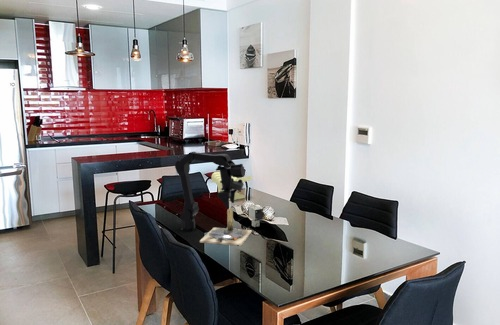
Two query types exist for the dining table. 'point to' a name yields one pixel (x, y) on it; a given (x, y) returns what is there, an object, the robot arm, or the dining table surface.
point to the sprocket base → (229, 242)
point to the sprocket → (227, 230)
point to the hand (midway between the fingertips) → (230, 205)
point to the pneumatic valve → (255, 215)
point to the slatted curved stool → (217, 178)
